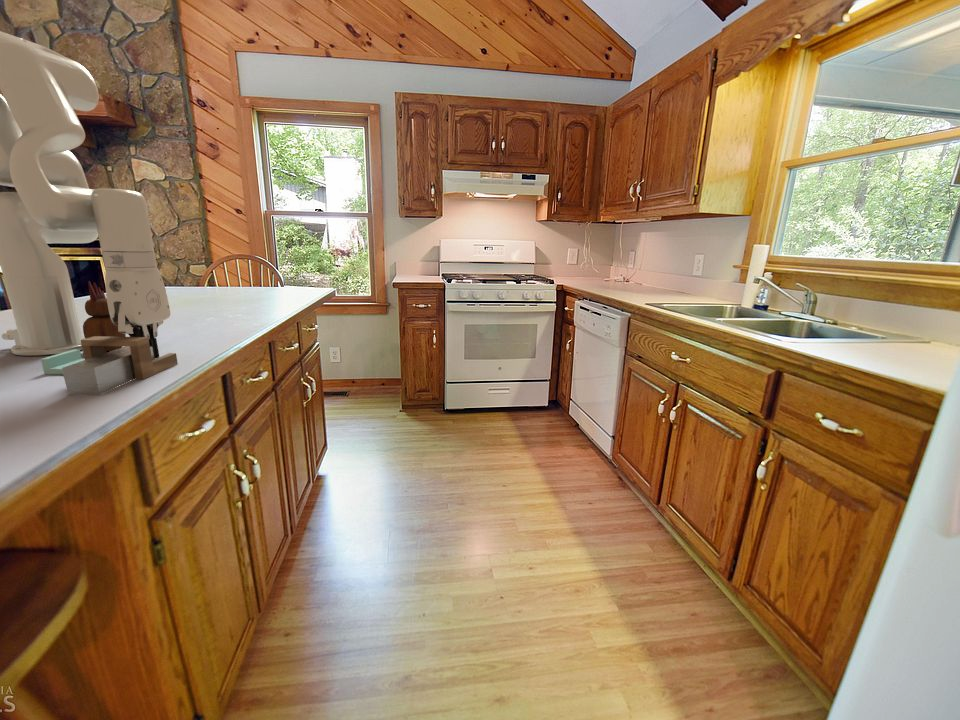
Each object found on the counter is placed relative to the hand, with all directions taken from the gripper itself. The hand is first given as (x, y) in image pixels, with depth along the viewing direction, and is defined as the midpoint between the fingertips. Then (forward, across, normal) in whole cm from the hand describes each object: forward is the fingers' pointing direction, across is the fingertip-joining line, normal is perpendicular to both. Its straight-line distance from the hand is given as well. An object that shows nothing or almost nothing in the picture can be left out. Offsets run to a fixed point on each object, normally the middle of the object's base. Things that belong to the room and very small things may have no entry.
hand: (148, 358), depth 82 cm
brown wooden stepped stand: (+2, -3, 0) cm, 4 cm away
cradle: (+2, -2, +10) cm, 10 cm away
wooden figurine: (+2, +12, +16) cm, 20 cm away
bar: (0, -9, 0) cm, 9 cm away
